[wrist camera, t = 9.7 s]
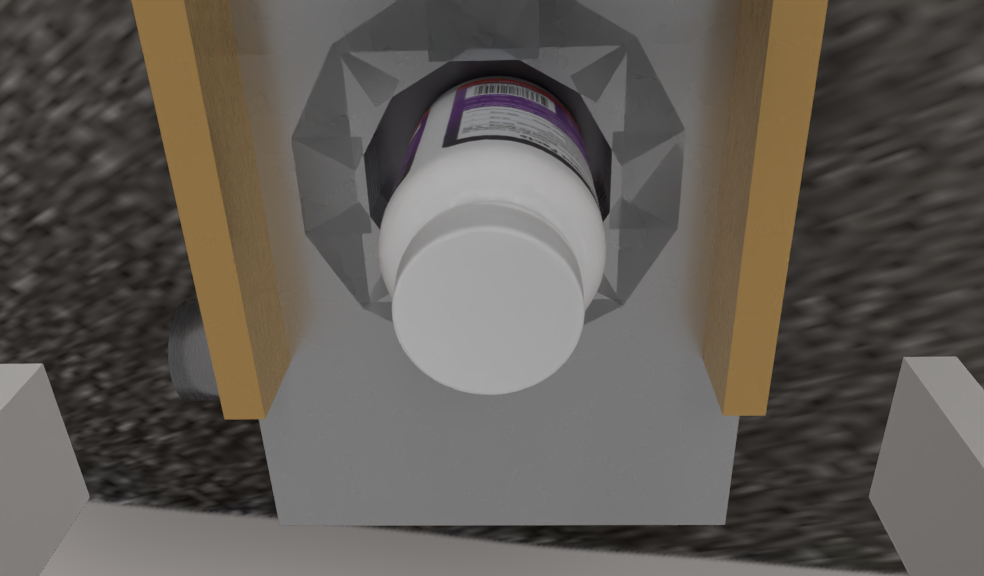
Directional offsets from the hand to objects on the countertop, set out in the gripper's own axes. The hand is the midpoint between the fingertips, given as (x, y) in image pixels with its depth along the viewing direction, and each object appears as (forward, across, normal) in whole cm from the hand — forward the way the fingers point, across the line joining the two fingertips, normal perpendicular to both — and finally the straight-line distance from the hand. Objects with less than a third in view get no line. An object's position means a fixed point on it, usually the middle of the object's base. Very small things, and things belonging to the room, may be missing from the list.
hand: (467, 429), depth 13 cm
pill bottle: (+14, 0, -1) cm, 14 cm away
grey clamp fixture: (+17, -2, -4) cm, 17 cm away
